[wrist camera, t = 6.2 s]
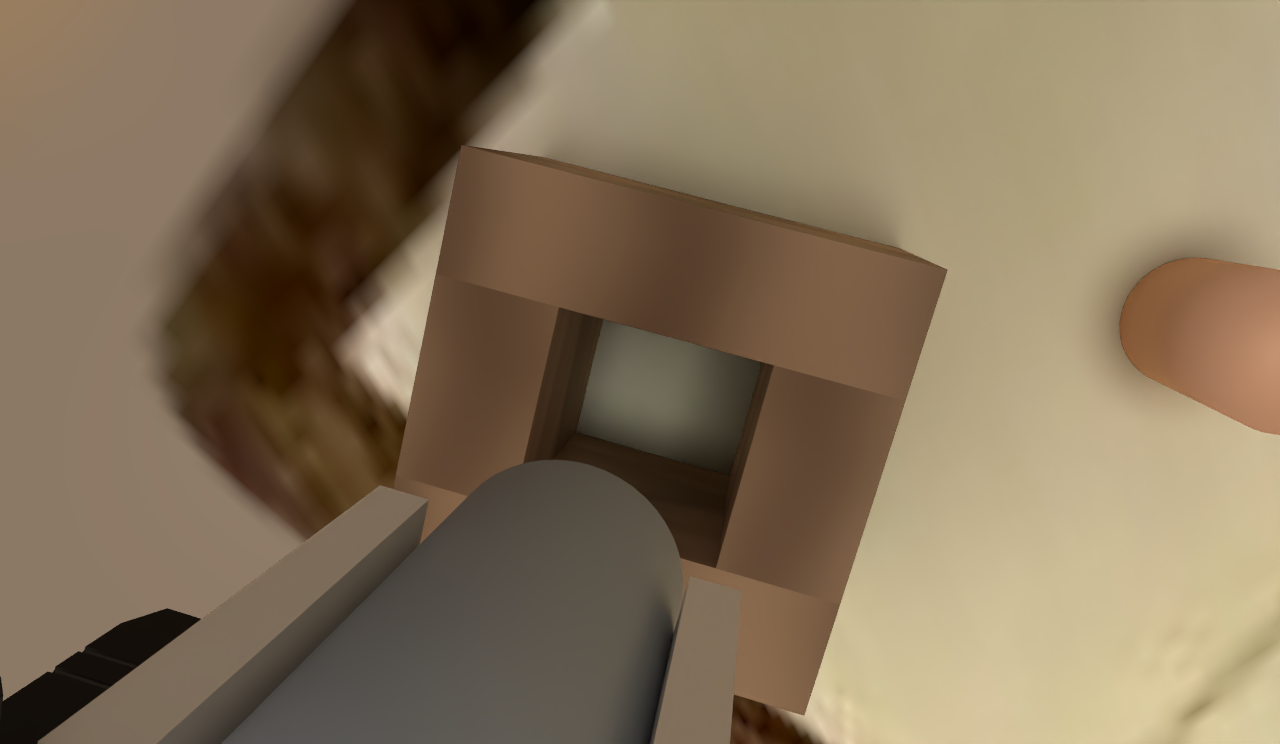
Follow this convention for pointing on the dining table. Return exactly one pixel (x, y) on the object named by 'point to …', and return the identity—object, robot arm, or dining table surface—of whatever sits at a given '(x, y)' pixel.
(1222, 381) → the short dowel
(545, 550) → the long dowel
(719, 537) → the hole block
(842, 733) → the dining table surface
